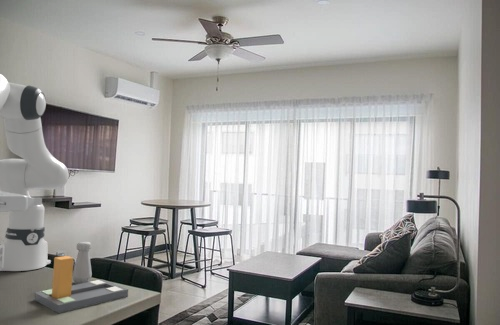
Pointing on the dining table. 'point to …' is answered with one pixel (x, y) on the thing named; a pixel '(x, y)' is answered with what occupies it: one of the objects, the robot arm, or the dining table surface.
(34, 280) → the dining table surface
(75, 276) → the salt shaker
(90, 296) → the panel
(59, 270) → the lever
